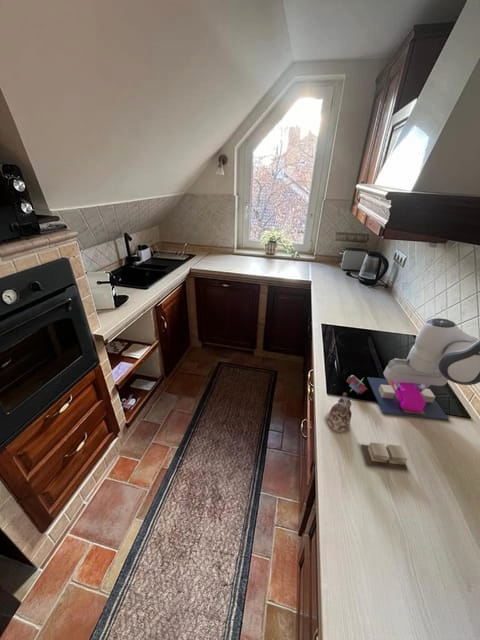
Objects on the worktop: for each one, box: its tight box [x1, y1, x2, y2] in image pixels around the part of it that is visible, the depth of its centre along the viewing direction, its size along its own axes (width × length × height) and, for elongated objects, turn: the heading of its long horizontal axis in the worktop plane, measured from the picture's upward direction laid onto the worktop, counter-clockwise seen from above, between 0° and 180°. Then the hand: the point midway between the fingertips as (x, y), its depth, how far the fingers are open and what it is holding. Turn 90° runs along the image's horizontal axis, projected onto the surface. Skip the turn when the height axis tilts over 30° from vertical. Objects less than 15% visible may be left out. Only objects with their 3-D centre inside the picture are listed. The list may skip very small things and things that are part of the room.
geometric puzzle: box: [346, 374, 369, 395], centre depth 98 cm, size 7×7×8 cm
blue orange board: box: [366, 376, 450, 421], centre depth 96 cm, size 22×18×4 cm
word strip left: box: [360, 441, 408, 471], centre depth 75 cm, size 11×6×4 cm, turn 84°
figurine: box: [326, 392, 352, 433], centre depth 83 cm, size 7×7×12 cm
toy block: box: [392, 381, 426, 412], centre depth 94 cm, size 15×6×8 cm, turn 164°
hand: (407, 389), depth 95 cm, fingers closed on toy block, 6 cm apart
